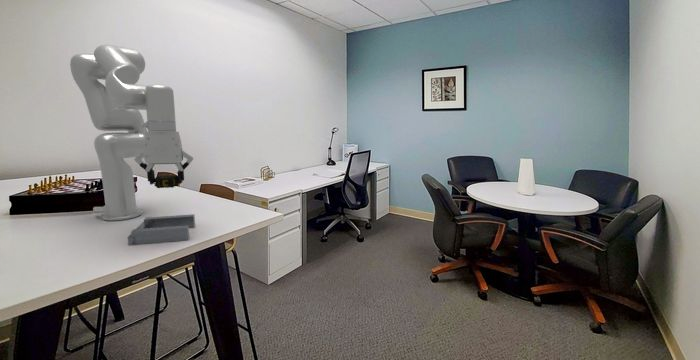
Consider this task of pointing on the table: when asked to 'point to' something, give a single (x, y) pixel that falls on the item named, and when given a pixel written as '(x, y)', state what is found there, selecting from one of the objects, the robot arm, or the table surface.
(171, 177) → the tape measure
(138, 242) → the c-clamp
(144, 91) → the robot arm
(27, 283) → the table surface
